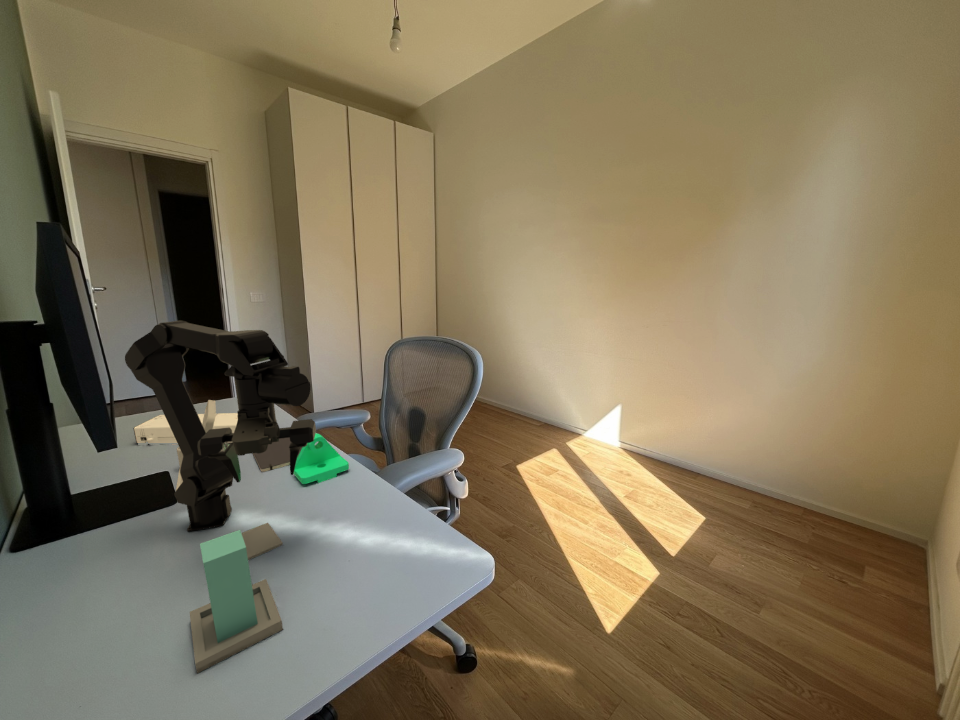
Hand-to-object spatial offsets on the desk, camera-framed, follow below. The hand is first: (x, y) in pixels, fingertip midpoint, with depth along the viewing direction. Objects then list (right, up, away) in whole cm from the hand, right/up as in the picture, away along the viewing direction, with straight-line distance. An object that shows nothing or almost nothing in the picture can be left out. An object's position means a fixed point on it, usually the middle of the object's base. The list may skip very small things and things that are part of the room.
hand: (266, 477), depth 76 cm
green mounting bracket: (0, -8, +27) cm, 28 cm away
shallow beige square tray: (+5, -17, -17) cm, 24 cm away
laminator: (-47, -3, +51) cm, 70 cm away
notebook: (-18, -5, +40) cm, 44 cm away
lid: (-4, -14, +1) cm, 14 cm away
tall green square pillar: (+4, -16, -17) cm, 24 cm away
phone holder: (-31, -8, +27) cm, 42 cm away
